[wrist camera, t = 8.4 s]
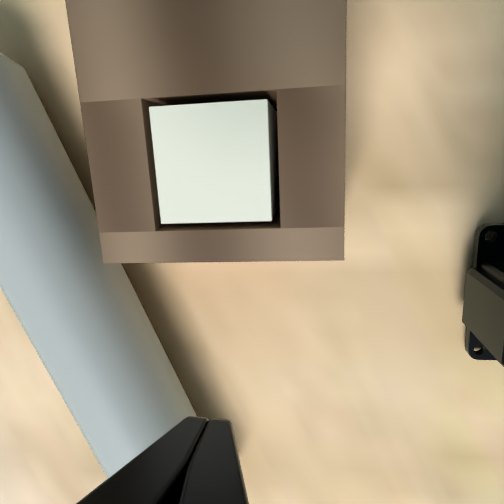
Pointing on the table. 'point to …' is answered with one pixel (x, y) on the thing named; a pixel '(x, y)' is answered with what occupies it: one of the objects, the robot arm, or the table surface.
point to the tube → (76, 290)
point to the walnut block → (210, 91)
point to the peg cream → (216, 161)
